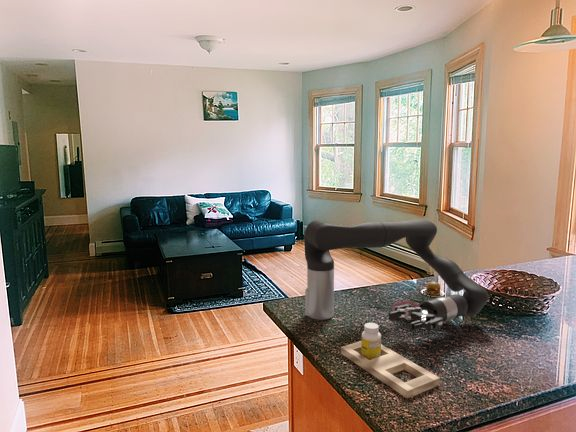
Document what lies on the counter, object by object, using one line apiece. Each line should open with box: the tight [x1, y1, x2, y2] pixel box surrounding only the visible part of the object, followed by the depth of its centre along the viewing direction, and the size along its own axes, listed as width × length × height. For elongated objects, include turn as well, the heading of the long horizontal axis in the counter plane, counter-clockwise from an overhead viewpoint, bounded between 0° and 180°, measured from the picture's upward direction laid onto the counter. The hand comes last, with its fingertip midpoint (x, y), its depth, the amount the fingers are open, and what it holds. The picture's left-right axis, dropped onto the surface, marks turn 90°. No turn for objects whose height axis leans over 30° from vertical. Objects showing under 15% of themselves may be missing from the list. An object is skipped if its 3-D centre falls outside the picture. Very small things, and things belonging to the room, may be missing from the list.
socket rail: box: [340, 340, 441, 399], centre depth 117 cm, size 26×11×2 cm, turn 30°
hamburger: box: [420, 280, 446, 298], centre depth 173 cm, size 12×12×6 cm
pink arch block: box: [391, 299, 421, 317], centre depth 151 cm, size 10×5×7 cm, turn 72°
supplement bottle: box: [361, 322, 382, 360], centre depth 122 cm, size 5×5×10 cm
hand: (399, 321), depth 127 cm, fingers open, 8 cm apart
